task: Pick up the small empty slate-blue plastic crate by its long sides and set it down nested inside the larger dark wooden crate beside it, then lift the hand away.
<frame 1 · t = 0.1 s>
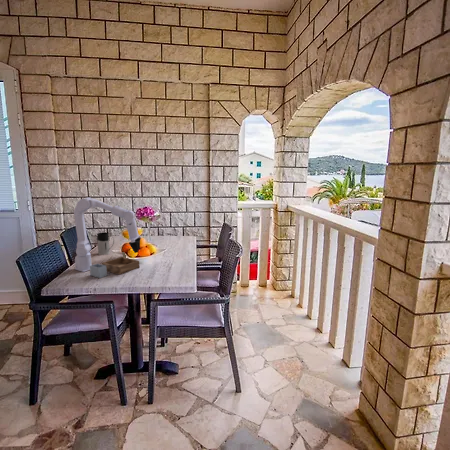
hand: (137, 250, 183), 11 cm above the table, tool pointing down, fingers open, 7 cm apart
flower pot: (128, 259, 200), on the table
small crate: (98, 275, 169), on the table
big crate: (121, 268, 181), on the table
grey jug: (107, 253, 215), on the table
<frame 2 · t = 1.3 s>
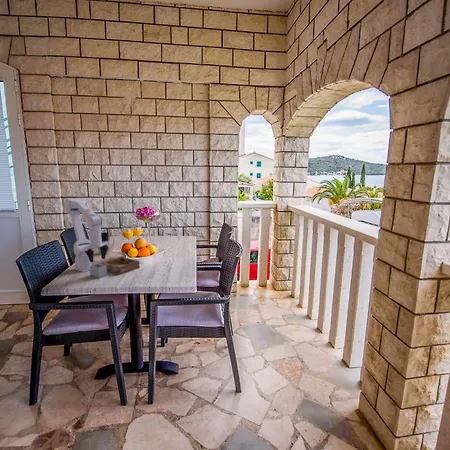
hand: (97, 260, 167), 9 cm above the table, tool pointing down, fingers open, 7 cm apart
nothing on the table moved.
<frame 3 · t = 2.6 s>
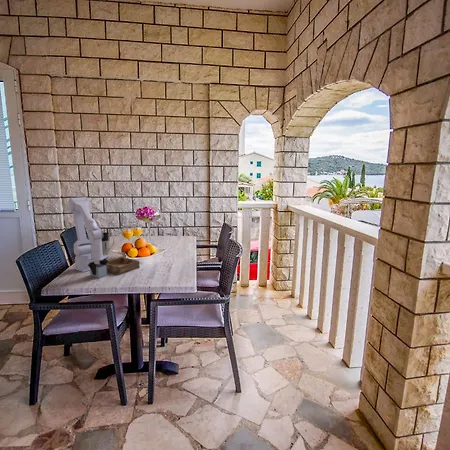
hand: (98, 273, 168), 1 cm above the table, tool pointing down, fingers closed on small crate, 5 cm apart
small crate: (98, 275, 169), on the table, touching gripper
everything else where it was.
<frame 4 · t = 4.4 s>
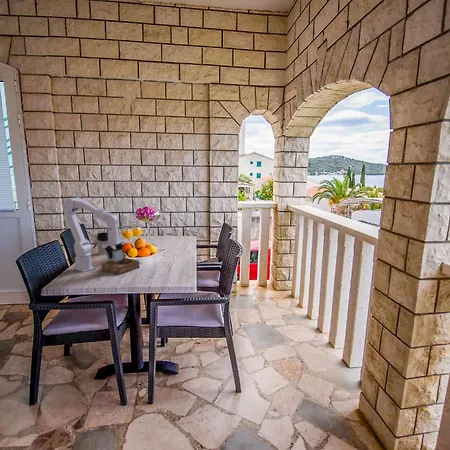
hand: (114, 257, 176), 8 cm above the table, tool pointing down, fingers closed on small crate, 5 cm apart
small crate: (115, 259, 176), point 7 cm above the table, touching gripper
everything else where it was.
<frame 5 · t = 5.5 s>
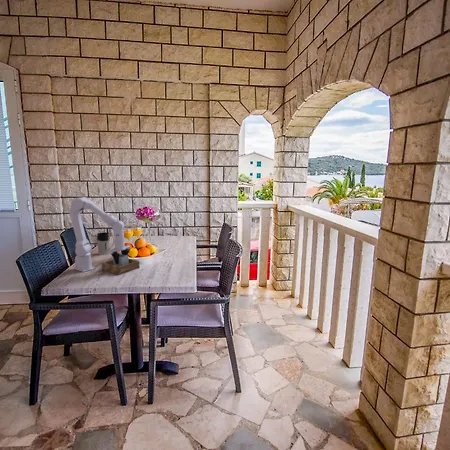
hand: (120, 262, 180), 4 cm above the table, tool pointing down, fingers closed on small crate, 5 cm apart
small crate: (121, 265, 180), point 2 cm above the table, touching gripper
everything else where it was.
when the fingers open (3 cm above the table, at t = 6.2 s): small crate stays where it is, resting on big crate.
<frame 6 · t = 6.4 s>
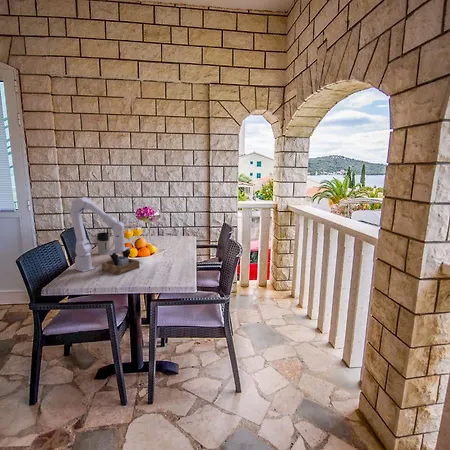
hand: (120, 263, 180), 3 cm above the table, tool pointing down, fingers open, 7 cm apart
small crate: (121, 267, 181), point 1 cm above the table, touching big crate
everything else where it was.
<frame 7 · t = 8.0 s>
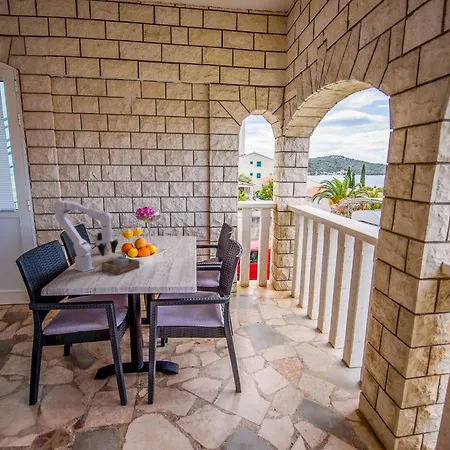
hand: (108, 254, 179), 9 cm above the table, tool pointing down, fingers open, 7 cm apart
nothing on the table moved.
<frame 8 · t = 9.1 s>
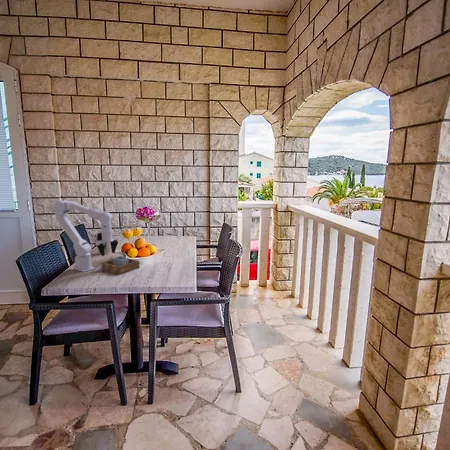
hand: (108, 254, 179), 9 cm above the table, tool pointing down, fingers open, 7 cm apart
nothing on the table moved.
at the end: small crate inside the target area on the big crate (0.2 cm from its centre), point 1.0 cm above the big crate's base; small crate tilted 0°; the gripper is holding nothing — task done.
